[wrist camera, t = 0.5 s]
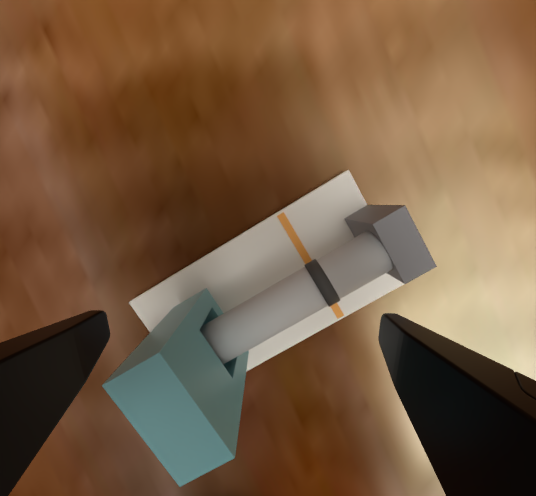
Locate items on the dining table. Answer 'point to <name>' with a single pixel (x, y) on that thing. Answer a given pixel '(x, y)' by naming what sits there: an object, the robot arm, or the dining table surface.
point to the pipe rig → (296, 272)
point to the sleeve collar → (183, 392)
